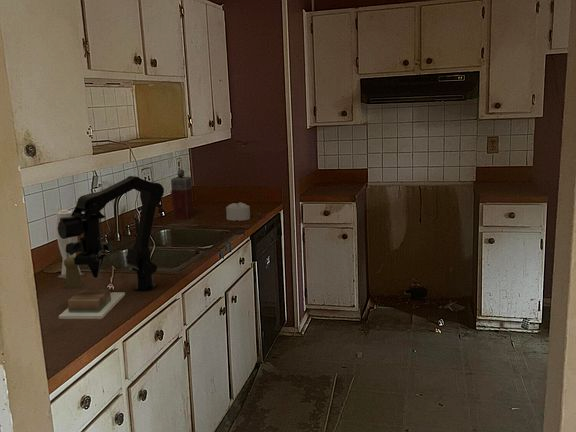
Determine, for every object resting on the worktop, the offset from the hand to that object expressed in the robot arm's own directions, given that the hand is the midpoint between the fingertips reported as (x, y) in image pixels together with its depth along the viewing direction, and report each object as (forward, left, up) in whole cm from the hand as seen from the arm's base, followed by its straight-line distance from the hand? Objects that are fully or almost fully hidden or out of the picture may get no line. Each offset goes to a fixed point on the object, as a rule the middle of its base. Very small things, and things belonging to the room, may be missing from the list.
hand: (95, 277), depth 195 cm
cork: (-17, -16, -9) cm, 25 cm away
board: (+4, 0, -9) cm, 10 cm away
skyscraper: (-30, -23, -9) cm, 39 cm away
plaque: (+1, 0, -6) cm, 6 cm away
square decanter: (-137, -4, -9) cm, 137 cm away
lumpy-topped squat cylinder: (-133, +30, -9) cm, 137 cm away
